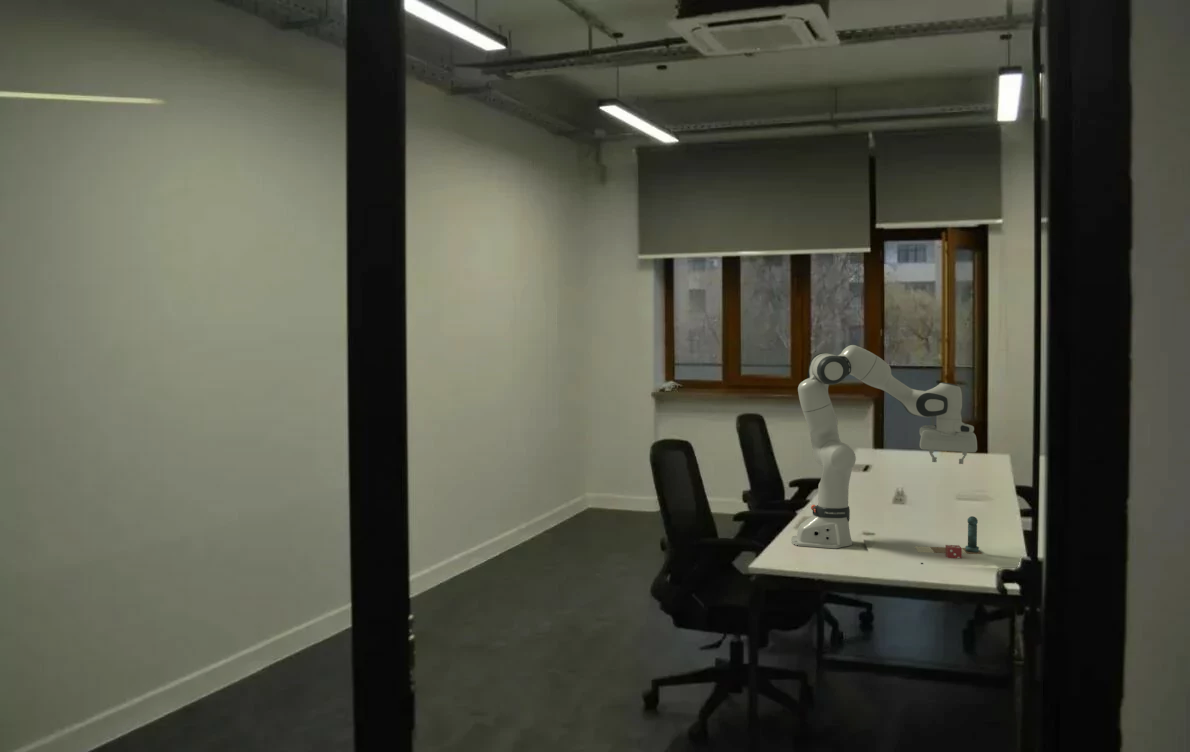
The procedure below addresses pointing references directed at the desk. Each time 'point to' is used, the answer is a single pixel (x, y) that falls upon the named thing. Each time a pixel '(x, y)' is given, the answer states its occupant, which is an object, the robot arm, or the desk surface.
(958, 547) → the die
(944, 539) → the desk surface
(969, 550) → the pawn
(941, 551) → the board
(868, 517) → the desk surface
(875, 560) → the desk surface
